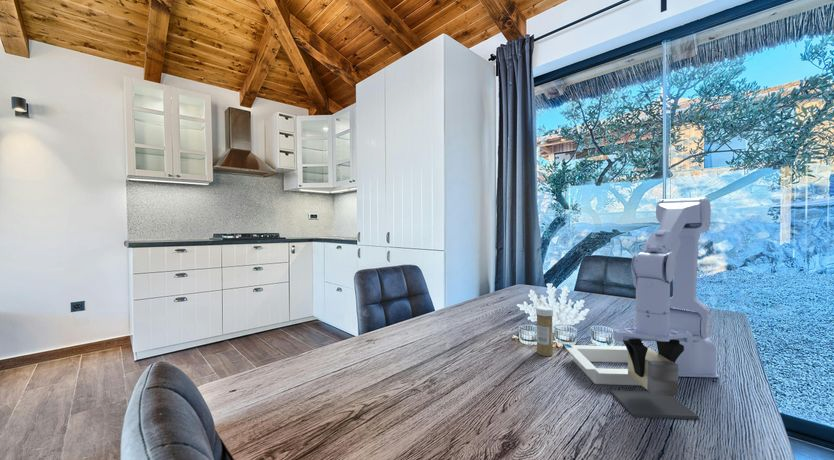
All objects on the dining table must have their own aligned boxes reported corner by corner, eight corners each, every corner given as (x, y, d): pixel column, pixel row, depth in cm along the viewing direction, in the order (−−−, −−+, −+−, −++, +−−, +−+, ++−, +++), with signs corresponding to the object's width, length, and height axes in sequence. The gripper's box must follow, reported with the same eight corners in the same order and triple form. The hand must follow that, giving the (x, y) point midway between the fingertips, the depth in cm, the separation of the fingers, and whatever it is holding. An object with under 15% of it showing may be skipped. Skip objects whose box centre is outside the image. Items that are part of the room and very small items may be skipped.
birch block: (649, 374, 73) (649, 347, 73) (678, 395, 64) (678, 365, 64) (627, 373, 73) (627, 346, 73) (653, 395, 64) (653, 364, 64)
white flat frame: (634, 358, 91) (634, 346, 91) (678, 390, 74) (678, 375, 74) (563, 357, 93) (563, 344, 93) (590, 387, 76) (590, 373, 75)
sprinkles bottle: (556, 354, 95) (556, 308, 94) (546, 357, 92) (546, 310, 92) (542, 349, 99) (542, 304, 98) (532, 352, 96) (532, 307, 96)
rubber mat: (667, 394, 72) (667, 391, 72) (698, 419, 63) (698, 416, 63) (610, 392, 73) (610, 390, 73) (633, 416, 64) (633, 413, 64)
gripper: (626, 315, 64) (625, 383, 65) (704, 316, 63) (703, 385, 64) (608, 306, 72) (608, 367, 72) (678, 307, 70) (678, 369, 71)
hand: (651, 375), depth 68 cm, fingers closed on birch block, 4 cm apart
